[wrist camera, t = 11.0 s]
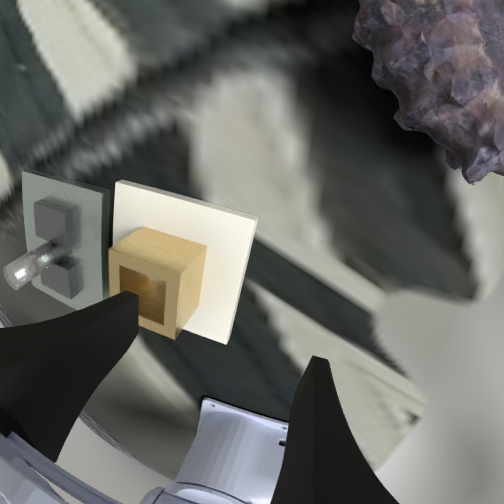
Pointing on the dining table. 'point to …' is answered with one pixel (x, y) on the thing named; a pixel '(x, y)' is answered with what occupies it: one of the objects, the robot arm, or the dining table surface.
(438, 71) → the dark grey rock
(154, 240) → the tan hollow boxy piece
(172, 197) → the board
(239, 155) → the dining table surface
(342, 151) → the dining table surface
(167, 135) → the dining table surface
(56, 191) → the grey plate with post
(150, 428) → the dining table surface
